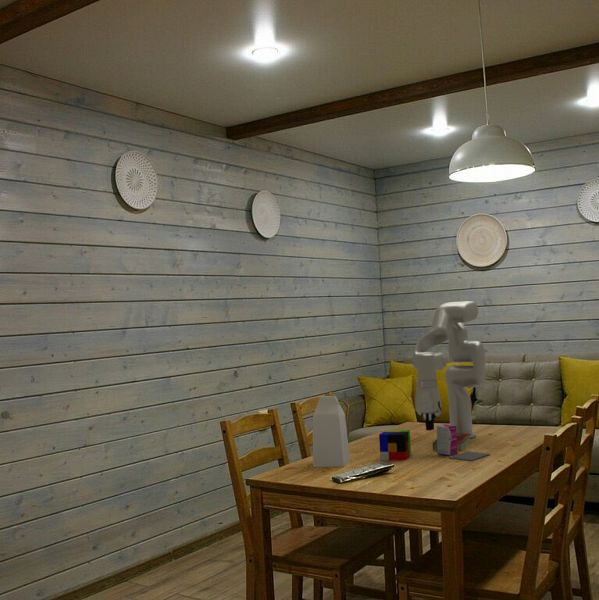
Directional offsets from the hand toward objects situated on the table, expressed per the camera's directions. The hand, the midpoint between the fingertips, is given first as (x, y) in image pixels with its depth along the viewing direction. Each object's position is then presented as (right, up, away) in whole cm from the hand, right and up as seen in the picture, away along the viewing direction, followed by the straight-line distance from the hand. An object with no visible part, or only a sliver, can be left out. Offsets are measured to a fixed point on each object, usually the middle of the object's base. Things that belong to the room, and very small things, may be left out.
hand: (430, 429), depth 297 cm
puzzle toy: (-14, -10, -6) cm, 19 cm away
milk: (-40, -11, -10) cm, 43 cm away
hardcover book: (+11, -9, +12) cm, 19 cm away
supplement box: (+6, -9, -6) cm, 12 cm away
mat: (+13, -8, -13) cm, 20 cm away
